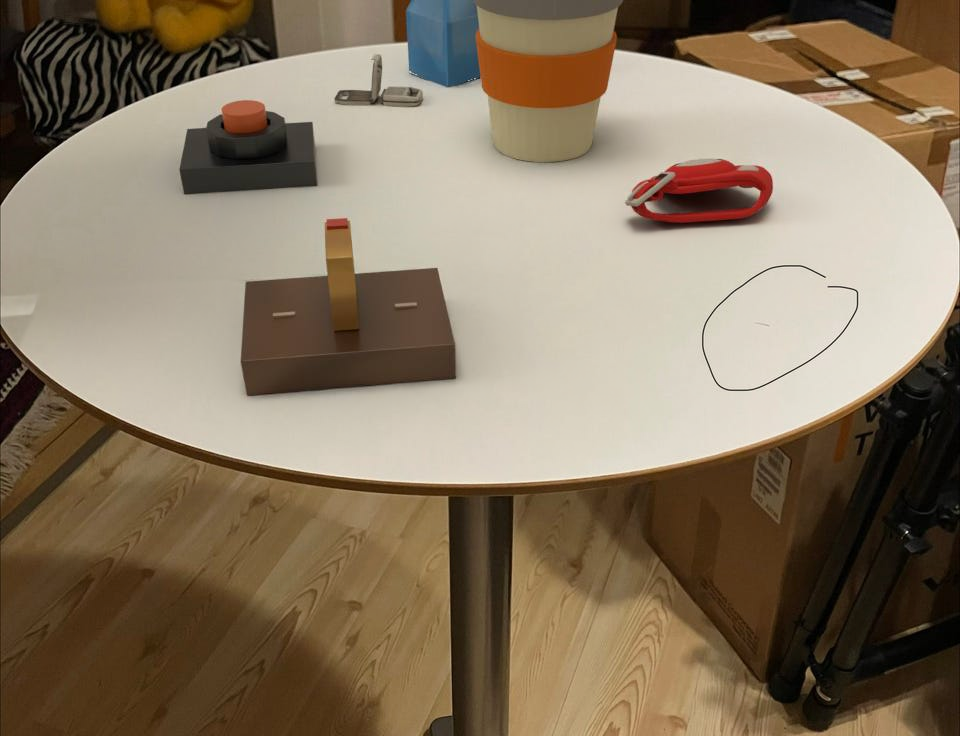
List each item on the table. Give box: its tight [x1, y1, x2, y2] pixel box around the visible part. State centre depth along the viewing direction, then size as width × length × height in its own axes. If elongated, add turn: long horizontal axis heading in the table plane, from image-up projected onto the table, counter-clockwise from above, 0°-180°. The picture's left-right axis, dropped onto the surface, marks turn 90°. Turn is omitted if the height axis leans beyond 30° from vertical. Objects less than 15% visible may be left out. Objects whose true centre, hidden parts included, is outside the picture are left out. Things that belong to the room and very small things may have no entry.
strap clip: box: [334, 54, 423, 108], centre depth 102 cm, size 8×3×4 cm, turn 84°
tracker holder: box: [624, 158, 774, 223], centre depth 83 cm, size 12×4×10 cm
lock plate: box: [240, 267, 457, 396], centre depth 68 cm, size 13×10×3 cm
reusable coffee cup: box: [473, 0, 624, 163], centre depth 90 cm, size 13×12×15 cm
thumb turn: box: [324, 217, 359, 331], centre depth 65 cm, size 5×2×5 cm, turn 7°
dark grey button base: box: [179, 110, 318, 195], centre depth 89 cm, size 11×9×4 cm
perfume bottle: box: [405, 0, 481, 88], centre depth 105 cm, size 6×6×12 cm
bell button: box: [220, 99, 268, 133], centre depth 88 cm, size 4×4×2 cm
